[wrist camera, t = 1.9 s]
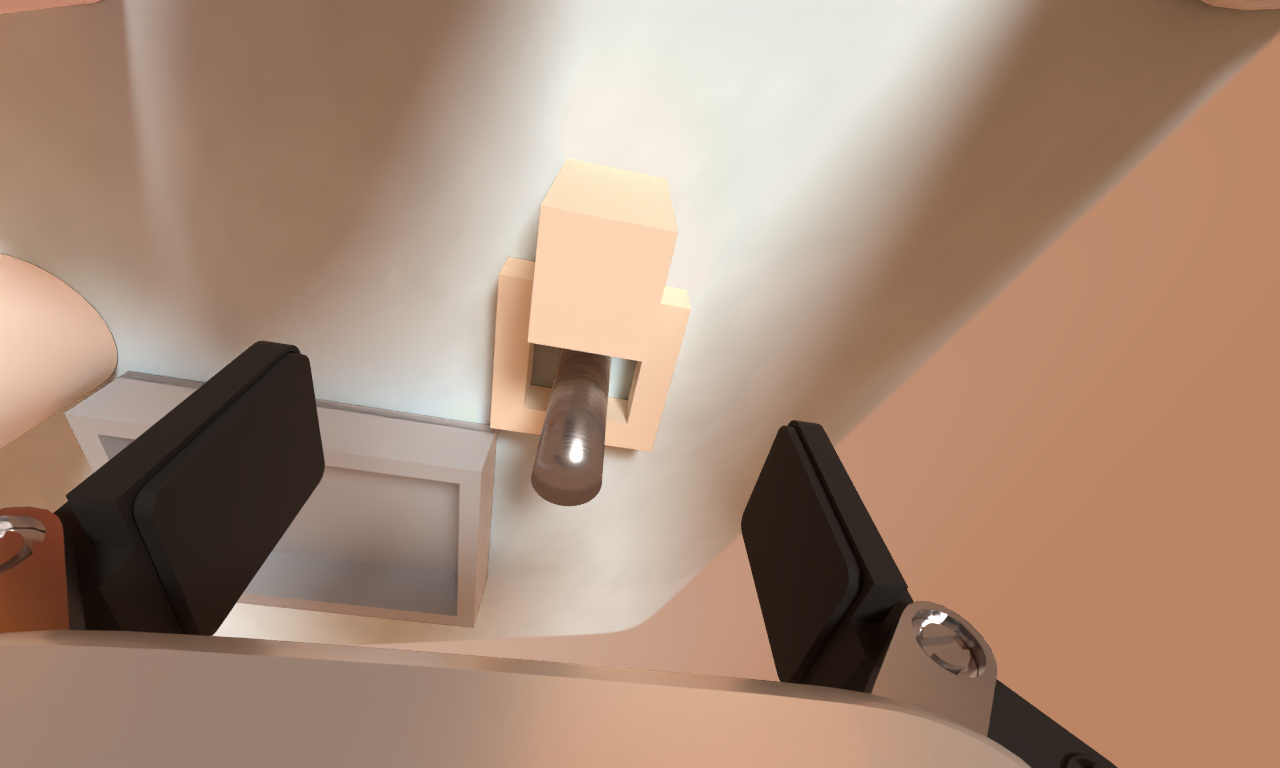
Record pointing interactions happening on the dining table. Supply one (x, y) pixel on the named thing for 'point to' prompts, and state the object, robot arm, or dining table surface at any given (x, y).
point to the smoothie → (37, 4)
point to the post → (574, 430)
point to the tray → (351, 505)
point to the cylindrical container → (46, 347)
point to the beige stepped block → (593, 298)
